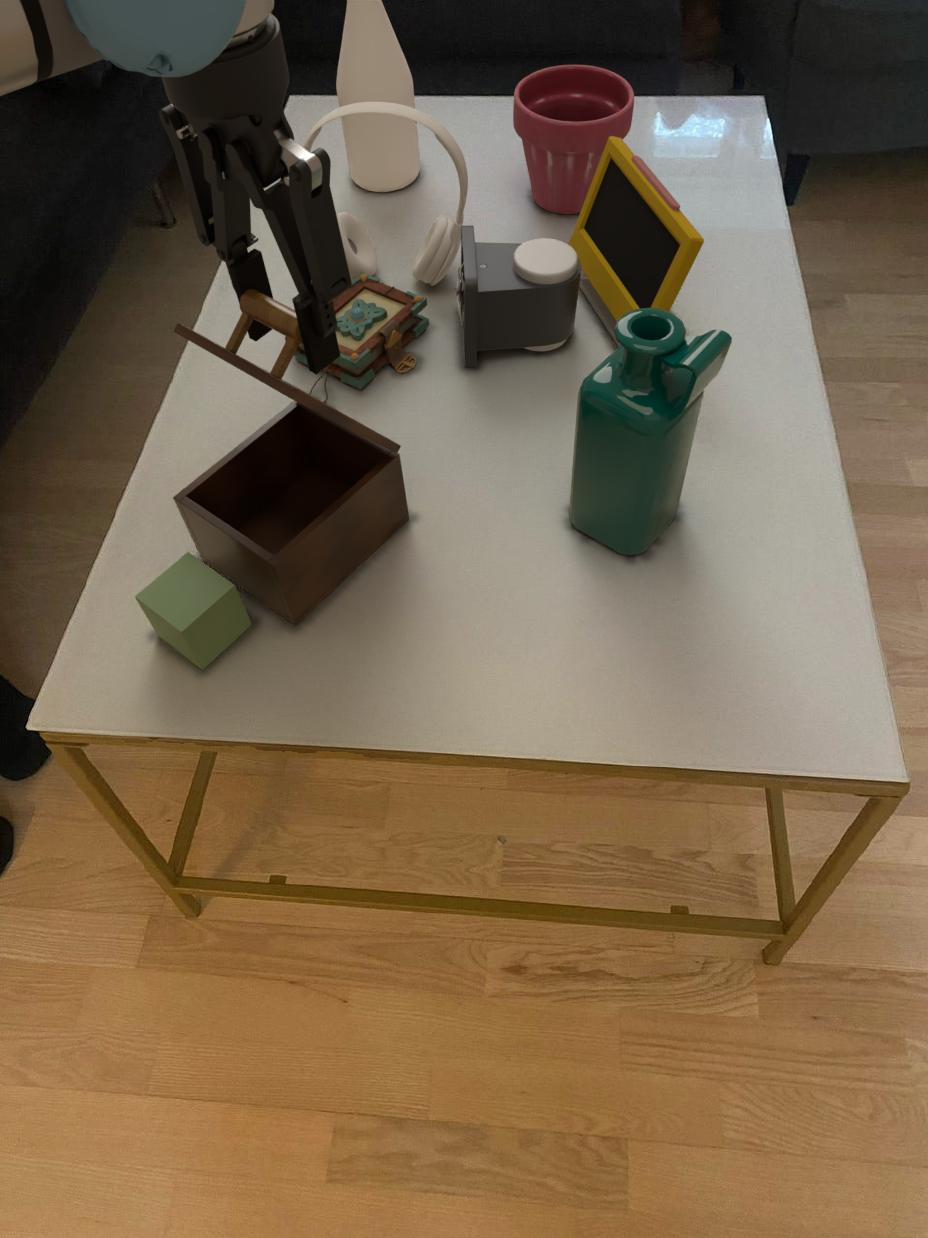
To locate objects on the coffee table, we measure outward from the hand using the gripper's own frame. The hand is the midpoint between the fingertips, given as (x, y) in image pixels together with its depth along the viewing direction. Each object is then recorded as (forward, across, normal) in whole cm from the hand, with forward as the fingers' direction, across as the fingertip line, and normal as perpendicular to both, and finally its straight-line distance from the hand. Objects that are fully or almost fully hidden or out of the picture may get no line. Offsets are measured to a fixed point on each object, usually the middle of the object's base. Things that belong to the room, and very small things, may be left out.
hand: (294, 346), depth 71 cm
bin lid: (+4, 0, +1) cm, 4 cm away
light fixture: (+20, +2, -31) cm, 37 cm away
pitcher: (+20, -23, -16) cm, 35 cm away
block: (+20, 0, +17) cm, 26 cm away
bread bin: (+20, 0, +4) cm, 20 cm away
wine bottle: (+20, +36, -48) cm, 63 cm away
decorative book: (+20, +14, -18) cm, 30 cm away
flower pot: (+20, +13, -58) cm, 62 cm away
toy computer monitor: (+20, -7, -42) cm, 47 cm away
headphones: (+20, +20, -32) cm, 42 cm away
